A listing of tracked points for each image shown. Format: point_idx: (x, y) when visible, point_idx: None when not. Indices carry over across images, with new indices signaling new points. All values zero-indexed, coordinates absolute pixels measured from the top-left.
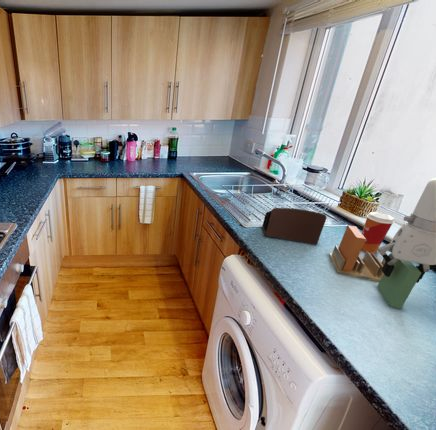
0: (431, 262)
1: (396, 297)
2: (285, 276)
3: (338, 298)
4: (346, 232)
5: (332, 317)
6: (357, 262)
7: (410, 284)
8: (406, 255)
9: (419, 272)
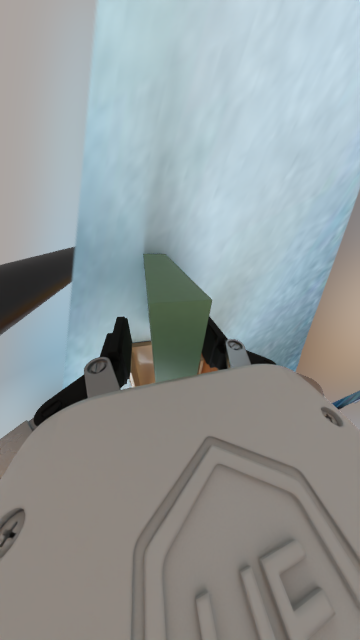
0: (82, 426)
1: (167, 259)
2: (312, 281)
3: (262, 240)
4: None
5: (335, 121)
6: (203, 361)
7: (159, 274)
8: (275, 406)
9: (160, 304)
